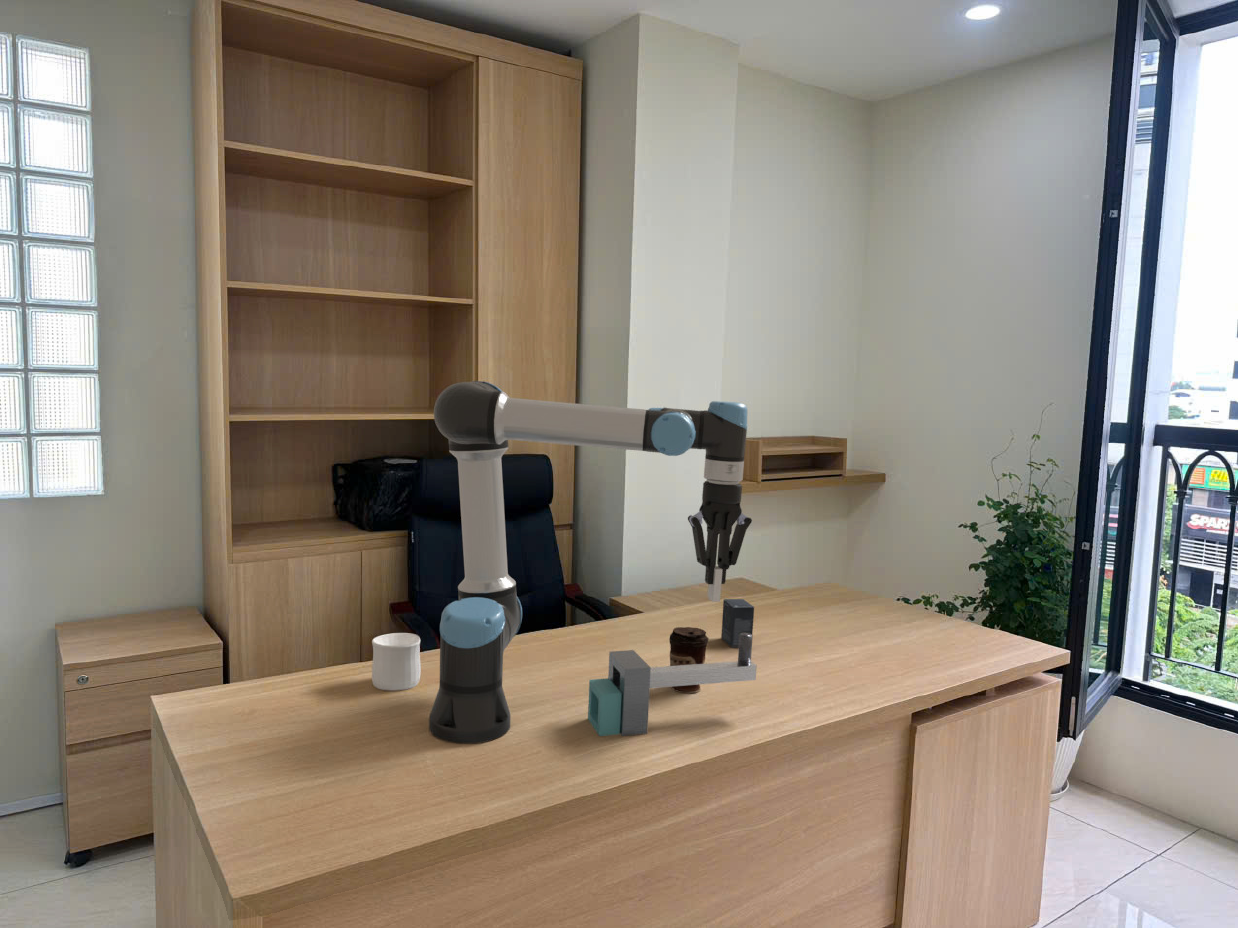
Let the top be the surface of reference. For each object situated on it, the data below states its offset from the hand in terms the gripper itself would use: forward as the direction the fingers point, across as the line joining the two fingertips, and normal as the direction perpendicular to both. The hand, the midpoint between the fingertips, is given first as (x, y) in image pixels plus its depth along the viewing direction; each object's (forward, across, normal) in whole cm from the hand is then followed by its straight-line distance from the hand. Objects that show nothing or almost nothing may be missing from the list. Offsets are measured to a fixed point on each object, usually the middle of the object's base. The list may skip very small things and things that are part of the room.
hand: (713, 599), depth 169 cm
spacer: (+24, -21, 0) cm, 32 cm away
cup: (+26, -58, +30) cm, 70 cm away
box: (+24, +27, +42) cm, 55 cm away
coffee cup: (+24, +2, +15) cm, 28 cm away
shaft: (+17, -3, 0) cm, 17 cm away
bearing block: (+24, -17, 0) cm, 29 cm away
